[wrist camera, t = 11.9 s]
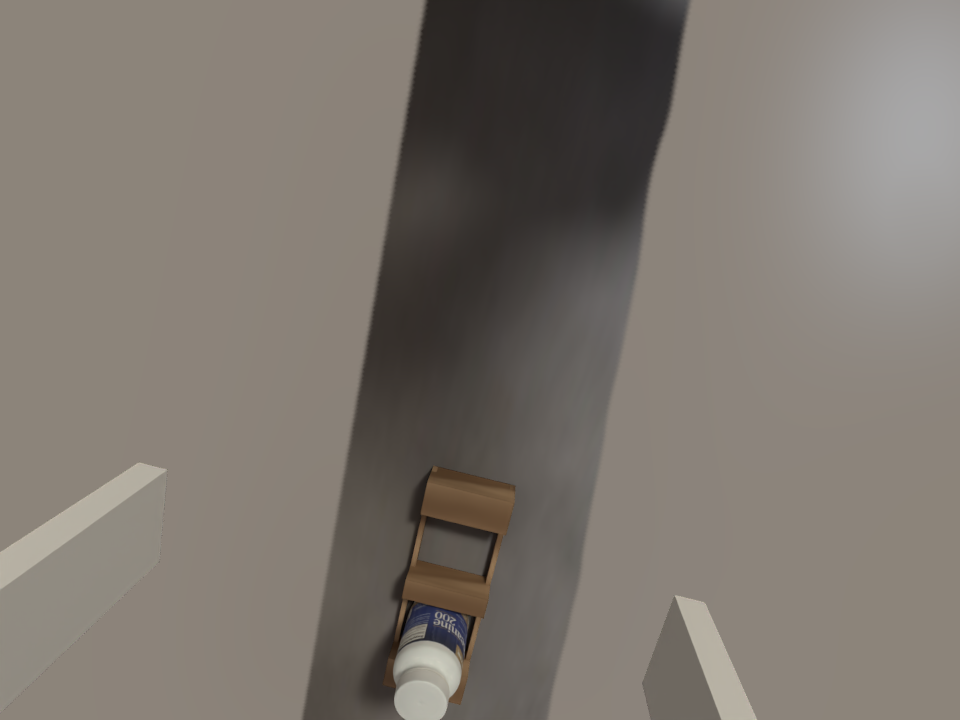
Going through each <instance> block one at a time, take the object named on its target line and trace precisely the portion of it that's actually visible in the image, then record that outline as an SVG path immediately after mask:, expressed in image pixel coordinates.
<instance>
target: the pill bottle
mask: <svg viewBox="0 0 960 720" xmlns="http://www.w3.org/2000/svg"><path fill="white" fill-rule="evenodd" d="M468 624H469V616H468V615H467V614H463V613H459V612H455V611H451V610H447V609H443V608H439V607H435V606H431V605H427V604H423V603H419V602H414V603H413V605H412V607H411V609H410V612H409V615H408V618H407V621H406V625H405V628H404V632H403V635H402V638H401V641H400V645H399V648H398V651H397V655H396V658H395V661H394V666H393V677H394V681H395V683H396V691H395V696H394V704H395V708H396V710H397V712H398V713H399V714H400V716H401V717H403V718H404V719H405V720H440V719H441V718H442V717H443V716H444V714H445V712H446V710H447V705H448V701H449V698H450V697H451V696H452V695H453V694H454V693H455V692H456V690H457V688H458V686H459V684H460V680H461V674H462V668H463V660H464V655H465V647H466V639H467V632H468Z"/></svg>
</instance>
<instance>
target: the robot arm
mask: <svg viewBox="0 0 960 720" xmlns="http://www.w3.org/2000/svg"><path fill="white" fill-rule="evenodd" d="M167 472H168V470H167V469H164V468H160V467H155V466H151V465H147V464H143V463H137V464H136V465H134V466H132V467H131V468H129V469H128V470H126V471H125V472H123V473H122V474H120V475H118V476H117V477H115V478H114V479H112V480H111V481H109V482H108V483H106V484H105V485H103V486H102V487H100V488H98V489H97V490H95V491H94V492H92V493H91V494H89V495H88V496H86V497H84V498H83V499H81V500H80V501H78V502H77V503H75V504H74V505H72V506H71V507H69V508H67V509H66V510H64V511H63V512H61V513H60V514H58V515H57V516H55V517H54V518H52V519H51V520H49V521H47V522H46V523H44V524H43V525H41V526H40V527H38V528H37V529H35V530H33V531H32V532H30V533H29V534H27V535H26V536H24V537H23V538H21V539H20V540H18V541H16V542H15V543H13V544H12V545H10V546H9V547H7V548H6V549H4V550H3V551H1V552H0V713H1V712H2V711H3V710H4V709H5V708H6V707H7V706H8V705H9V704H11V703H12V701H14V700H15V699H16V698H17V697H18V696H19V695H20V694H21V693H22V692H23V691H24V690H25V689H26V688H27V687H28V686H30V685H31V683H33V682H34V681H35V680H36V679H37V678H38V677H39V676H40V675H41V674H42V673H43V672H44V671H45V670H46V669H47V668H48V667H49V666H50V665H52V664H53V662H55V661H56V660H57V659H58V658H59V657H60V656H61V655H62V654H63V653H64V652H65V651H66V650H67V649H68V648H69V647H71V646H72V645H73V644H74V643H75V642H76V641H77V640H78V639H79V638H80V637H81V636H82V635H83V634H84V633H85V632H86V631H87V630H88V629H89V628H90V627H92V626H93V625H94V624H95V623H96V622H97V621H98V620H99V619H100V618H101V617H102V616H103V615H104V614H105V613H106V612H107V611H108V610H109V609H110V608H111V607H113V605H115V604H116V603H117V602H118V601H119V600H120V599H121V598H122V597H123V596H124V595H125V594H126V593H127V592H128V591H129V590H130V589H131V588H132V587H134V586H135V585H136V584H137V583H138V582H139V581H140V580H141V579H142V578H143V577H144V576H145V575H146V574H147V573H148V572H149V571H150V570H151V569H152V568H154V567H155V566H156V565H157V564H158V563H159V560H160V550H161V539H162V528H163V516H164V506H165V494H166V483H167ZM642 684H643V689H644V693H645V697H646V701H647V706H648V710H649V714H650V718H651V720H757V719H756V716H755V714H754V712H753V710H752V707H751V705H750V703H749V701H748V699H747V697H746V694H745V692H744V690H743V687H742V685H741V683H740V681H739V678H738V676H737V674H736V672H735V669H734V667H733V665H732V663H731V660H730V658H729V656H728V654H727V651H726V649H725V647H724V645H723V642H722V640H721V638H720V636H719V633H718V631H717V629H716V627H715V624H714V622H713V620H712V618H711V615H710V613H709V611H708V609H707V606H706V604H705V603H704V602H700V601H697V600H692V599H689V598H684V597H680V596H676V595H675V596H674V598H673V601H672V603H671V606H670V609H669V612H668V614H667V617H666V620H665V623H664V625H663V628H662V631H661V634H660V637H659V639H658V642H657V644H656V647H655V650H654V652H653V655H652V658H651V661H650V663H649V666H648V669H647V672H646V674H645V677H644V680H643V682H642Z"/></svg>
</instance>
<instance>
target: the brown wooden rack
mask: <svg viewBox="0 0 960 720" xmlns="http://www.w3.org/2000/svg"><path fill="white" fill-rule="evenodd" d="M514 501H515V486H514V485H510V484H506V483H502V482H498V481H494V480H490V479H485V478H481V477H477V476H473V475H469V474H465V473H461V472H457V471H453V470H449V469H445V468H440V467H436V466H433V468H432V471H431V474H430V476H429V479H428V482H427V486H426V490H425V495H424V500H423V504H422V509H421V513H420V514H421V515H422V516H421V521H420V525H419V530H418V534H417V539H416V543H415V548H414V552H413V557H412V561H411V566H410V569H409V572H408V574H407V577H406V581H405V585H404V590H403V594H402V598H403V602H402V606H401V611H400V615H399V620H398V624H397V629H396V633H395V638H394V642H393V645H392V648H391V651H390V655H389V658H388V662H387V667H386V671H385V676H384V680H383V685H384V686H388V687H392V688H396V683H395V681H394V677H393V666H394V661H395V658H396V655H397V651H398V648H399V645H400V641H401V638H402V635H400V634H401V630H402V625H403V621H404V616H405V612H406V607H407V603H408V600H411V601H415V602H419V603H423V604H427V605H431V606H435V607H439V608H443V609H447V610H451V611H455V612H459V613H463V614H467V615H471V616H475V617H476V618H475V622H474V625H473V629H472V633H471V637H470V641H469V644H468V648H467V651H465V655H464V660H463V668H462V674H461V680H460V684H459V686H458V688H457V690H456V692H455V693H454V694H453V695H452V696H451V697H450V698H449V701H448V702H451V703H455V704H459V705H460V704H461V701H462V697H463V693H464V689H465V686H466V682H467V678H468V671H469V663H470V658H471V654H472V651H473V647H474V643H475V639H476V636H477V632H478V628H479V625H480V621H481V618H483V619H484V615H485V611H486V607H487V604H488V599H489V590H490V583H491V580H492V576H493V572H494V568H495V565H496V561H497V557H498V553H499V550H500V546H501V542H502V538H503V535H506V533H507V529H508V525H509V522H510V518H511V514H512V510H513V507H514ZM427 516H429V517H433V518H437V519H441V520H445V521H450V522H454V523H458V524H462V525H466V526H470V527H474V528H478V529H482V530H486V531H490V532H494V533H498V534H497V538H496V542H495V546H494V550H493V553H492V557H491V561H490V565H489V569H488V572H487V576H486V577H484V576H480V575H476V574H472V573H468V572H464V571H460V570H456V569H452V568H448V567H444V566H440V565H436V564H432V563H428V562H424V561H420V560H417V559H418V554H419V550H420V545H421V541H422V536H423V532H424V527H425V523H426V519H427Z"/></svg>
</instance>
